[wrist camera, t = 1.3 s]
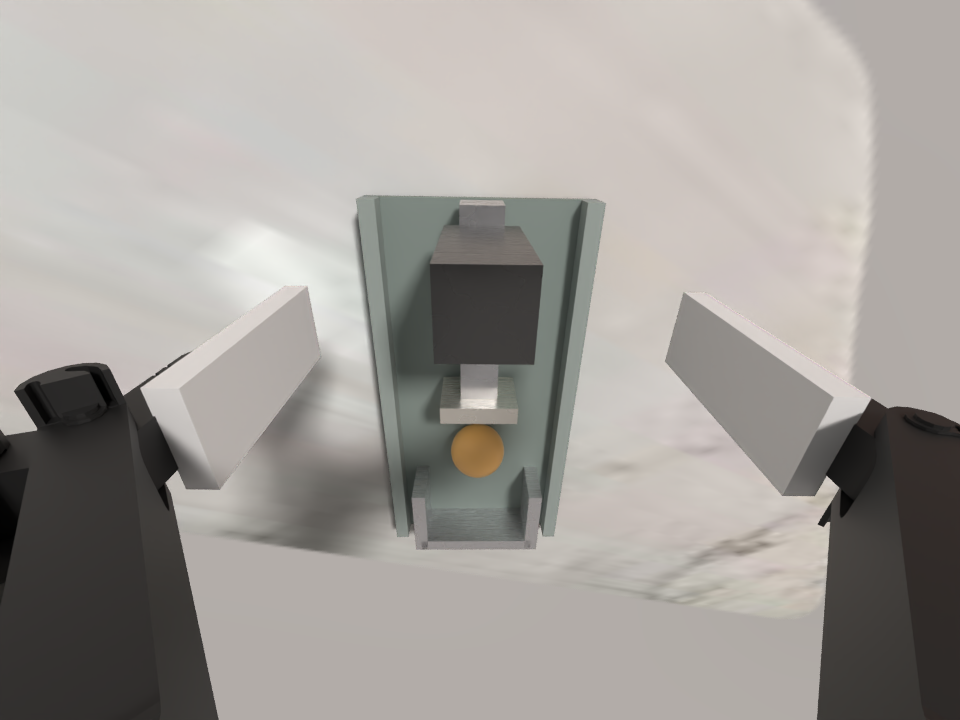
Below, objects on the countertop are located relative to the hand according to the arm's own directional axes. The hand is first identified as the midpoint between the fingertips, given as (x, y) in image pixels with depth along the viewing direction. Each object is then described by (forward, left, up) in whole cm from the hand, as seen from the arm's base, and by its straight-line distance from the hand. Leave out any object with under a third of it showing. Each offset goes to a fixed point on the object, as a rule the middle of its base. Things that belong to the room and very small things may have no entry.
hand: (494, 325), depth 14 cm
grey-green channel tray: (0, -11, -13) cm, 17 cm away
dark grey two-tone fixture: (0, -4, -12) cm, 12 cm away
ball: (0, -15, -10) cm, 18 cm away
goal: (0, -21, -13) cm, 24 cm away
